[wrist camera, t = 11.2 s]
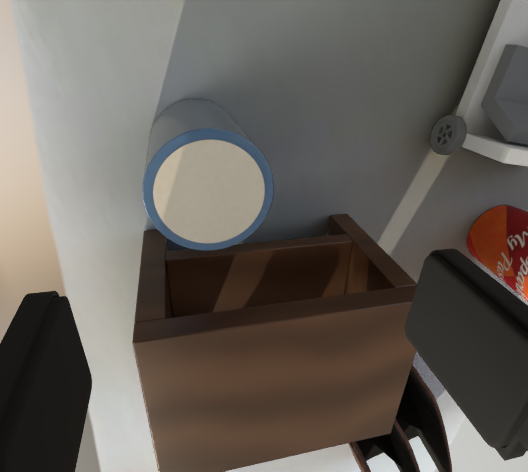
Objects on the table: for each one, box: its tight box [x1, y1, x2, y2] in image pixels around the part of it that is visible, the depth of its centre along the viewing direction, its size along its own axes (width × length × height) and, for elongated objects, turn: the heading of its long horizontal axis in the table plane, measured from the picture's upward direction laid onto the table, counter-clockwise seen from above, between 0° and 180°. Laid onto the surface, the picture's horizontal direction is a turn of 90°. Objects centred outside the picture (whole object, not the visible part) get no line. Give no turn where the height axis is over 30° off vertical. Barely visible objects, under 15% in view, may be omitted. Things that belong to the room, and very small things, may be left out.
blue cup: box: [142, 99, 274, 251], centre depth 22 cm, size 7×7×9 cm
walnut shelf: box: [133, 214, 417, 472], centre depth 28 cm, size 13×17×12 cm
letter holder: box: [348, 365, 452, 472], centre depth 41 cm, size 10×20×14 cm, turn 21°
